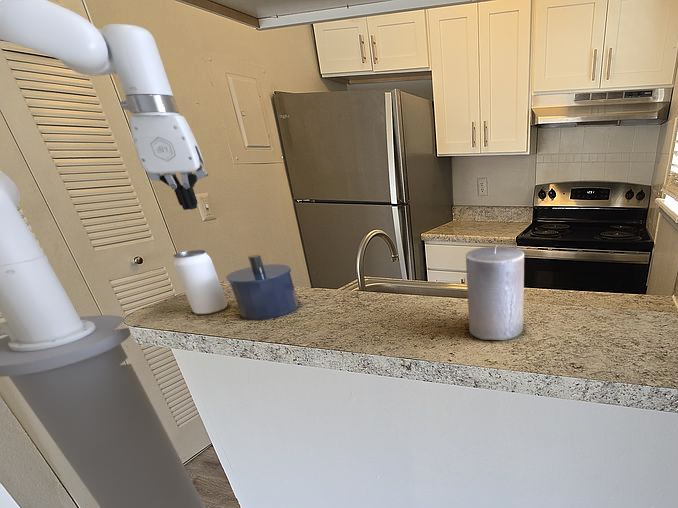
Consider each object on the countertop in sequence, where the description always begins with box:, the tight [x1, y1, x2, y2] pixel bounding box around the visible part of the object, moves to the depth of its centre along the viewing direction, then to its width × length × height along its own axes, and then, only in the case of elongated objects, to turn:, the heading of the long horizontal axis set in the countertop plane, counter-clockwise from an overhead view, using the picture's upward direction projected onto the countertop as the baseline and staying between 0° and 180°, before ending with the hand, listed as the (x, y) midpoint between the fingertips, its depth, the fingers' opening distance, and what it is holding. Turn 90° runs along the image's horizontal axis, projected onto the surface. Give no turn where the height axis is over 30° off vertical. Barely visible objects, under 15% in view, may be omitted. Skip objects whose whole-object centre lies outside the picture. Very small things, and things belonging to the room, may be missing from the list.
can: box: [172, 249, 228, 315], centre depth 84 cm, size 6×6×12 cm
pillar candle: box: [465, 244, 525, 341], centre depth 69 cm, size 10×10×15 cm
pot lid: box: [225, 254, 292, 284], centre depth 81 cm, size 12×12×4 cm
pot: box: [229, 272, 299, 321], centre depth 83 cm, size 11×11×8 cm
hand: (190, 208), depth 86 cm, fingers closed
